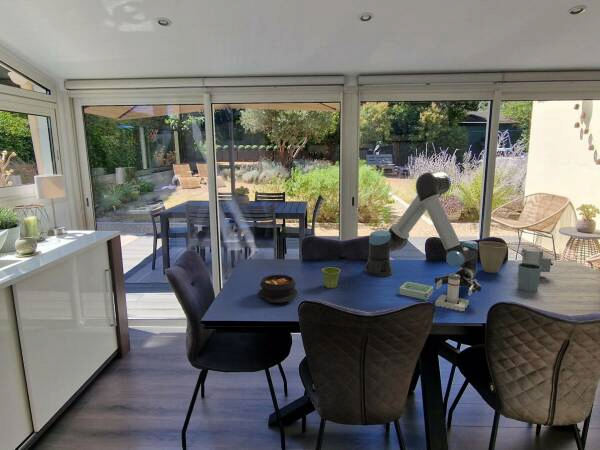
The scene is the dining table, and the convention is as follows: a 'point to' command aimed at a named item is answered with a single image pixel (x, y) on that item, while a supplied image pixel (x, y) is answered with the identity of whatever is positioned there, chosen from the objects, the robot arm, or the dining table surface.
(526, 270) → the teal cylinder
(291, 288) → the casserole
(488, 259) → the plant pot
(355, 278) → the dining table surface
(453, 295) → the fuse
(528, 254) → the circuit breaker
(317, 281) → the dining table surface
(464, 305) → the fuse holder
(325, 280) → the plant pot
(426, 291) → the parts tray
